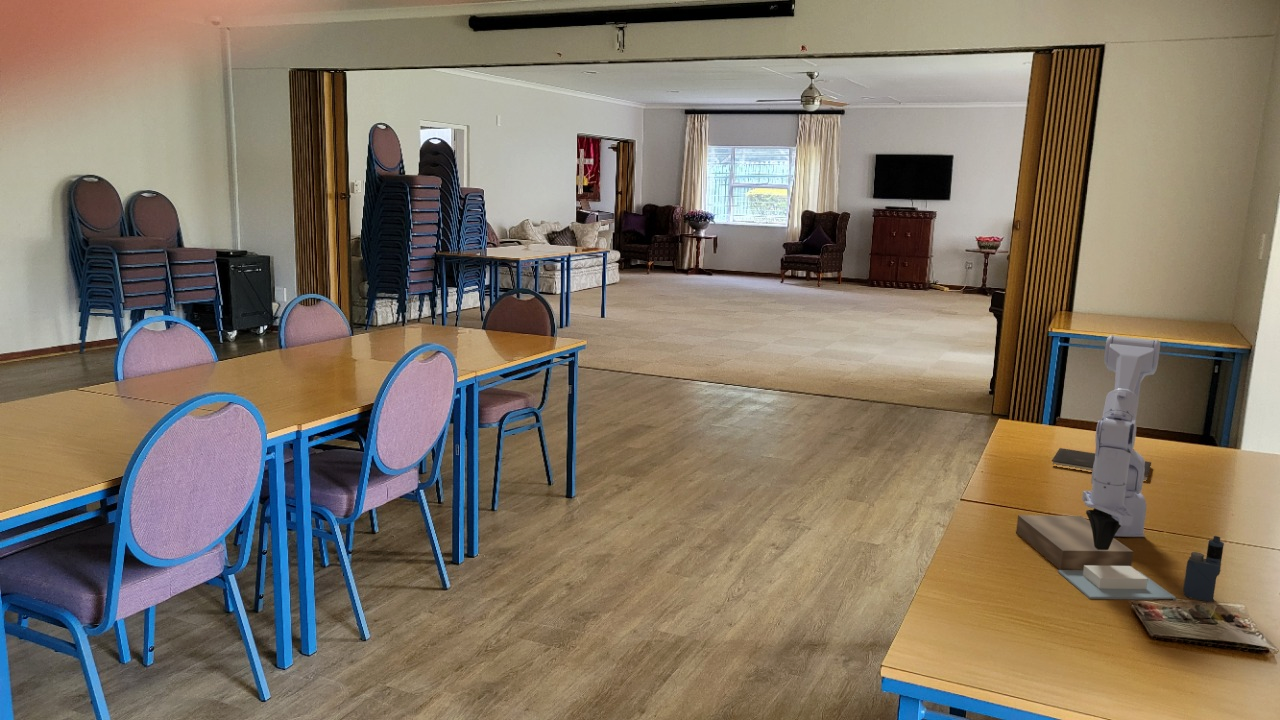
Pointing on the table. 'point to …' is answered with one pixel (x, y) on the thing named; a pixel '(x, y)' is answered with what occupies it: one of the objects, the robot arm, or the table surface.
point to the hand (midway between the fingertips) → (1101, 548)
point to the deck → (1069, 542)
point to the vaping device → (1203, 572)
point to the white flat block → (1115, 577)
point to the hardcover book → (1083, 460)
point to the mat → (1100, 593)
